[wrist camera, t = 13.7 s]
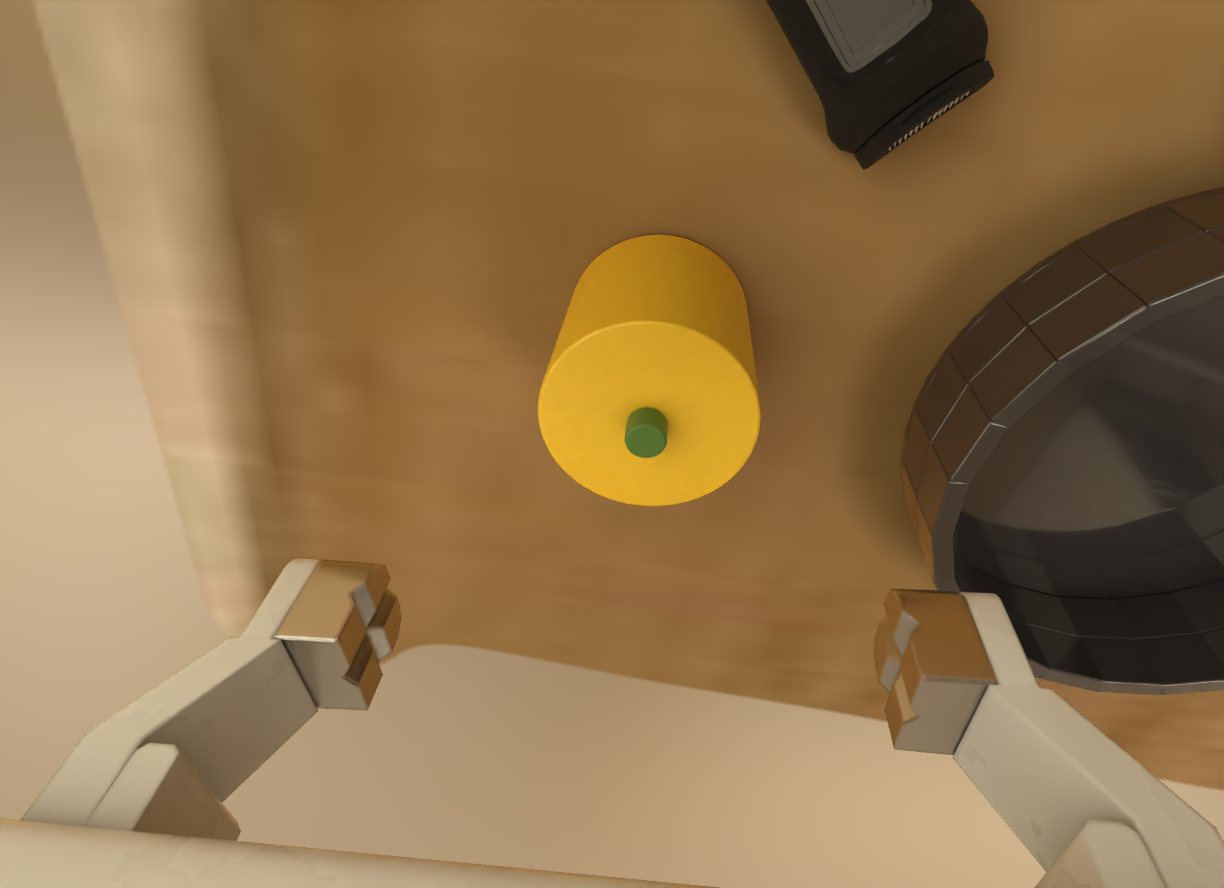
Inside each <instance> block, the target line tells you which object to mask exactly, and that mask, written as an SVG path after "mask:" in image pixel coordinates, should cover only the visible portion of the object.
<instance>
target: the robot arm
mask: <svg viewBox="0 0 1224 888" xmlns="http://www.w3.org/2000/svg"><path fill="white" fill-rule="evenodd" d="M390 579H391V578H390V576H389V573H388V571H387V569H386V566H385V565H381V564H372V563H359V562H346V561H333V560H316V559H301V558H295V559H294V560H292V561H291V562H289V563H288V564H287V565H286V566H285V568H284V569H283V571H282V572H281V574H280V576H279V577H278V579H277V580H276V582H275V583H274V585H273V587H272V588H271V590H270V591H269V593H268V594H267V596H266V598H265V599H264V601H263V602H262V604H261V605H260V607H259V608H258V610H257V612H256V613H255V615H254V616H253V618H252V619H251V621H250V623H249V624H248V626H247V627H246V629H245V630H244V632H243V634H242V635H241V637H230V638H229V639H227V640H226V641H224V642H223V643H222V644H220V645H218V646H217V647H215V648H214V649H212V650H211V651H209V652H208V653H207V654H205V655H203V656H202V657H200V658H199V659H197V660H196V661H194V662H193V663H191V664H190V665H188V666H187V667H185V668H184V669H182V670H181V671H179V672H178V673H176V674H175V675H173V676H172V677H170V678H169V679H167V680H166V681H164V682H163V683H161V684H160V685H158V686H157V687H155V688H154V689H152V690H151V691H149V692H148V693H146V694H145V695H143V696H142V697H140V698H139V699H137V700H136V701H134V702H133V703H131V704H130V705H128V706H126V707H125V708H124V709H122V710H120V711H119V712H117V713H116V714H114V715H113V716H111V717H110V718H108V719H107V720H105V721H104V722H102V723H101V724H100V725H98V726H96V727H95V728H93V729H92V730H90V731H89V732H87V733H86V734H84V736H83V737H82V738H81V740H80V741H79V742H78V744H77V745H76V746H75V748H74V749H73V750H72V752H71V753H70V755H69V756H68V757H67V758H66V760H65V761H64V762H63V764H62V765H61V766H60V768H59V769H58V770H57V772H56V773H55V774H54V776H53V777H52V779H51V780H50V781H49V782H48V784H47V785H46V786H45V788H44V789H43V790H42V792H41V793H40V794H39V796H38V797H37V799H36V800H35V801H34V802H33V804H32V805H31V807H30V808H29V809H28V810H27V812H26V813H25V814H24V816H23V817H22V818H21V820H14V819H3V818H0V888H718V887H708V886H696V885H686V884H676V883H666V882H656V881H646V880H635V879H625V878H615V877H604V876H594V875H583V874H573V873H563V872H552V871H543V870H532V869H522V868H512V867H500V866H491V865H481V864H470V863H460V862H449V861H439V860H429V859H417V858H408V857H398V856H386V855H377V854H367V853H356V852H346V851H336V850H325V849H314V848H304V847H294V846H284V845H273V844H263V843H253V842H241V841H237V839H238V836H239V834H240V832H241V831H240V828H239V824H238V822H237V821H236V820H235V819H234V817H233V816H232V815H231V814H230V812H229V811H228V810H227V809H226V807H225V806H224V805H223V804H222V802H223V801H224V800H225V799H226V798H227V797H228V796H229V795H230V794H231V793H232V792H234V791H235V790H236V789H237V788H238V787H239V786H240V785H241V784H242V783H243V782H244V781H245V780H246V779H247V778H248V777H249V776H250V775H251V774H252V773H253V772H255V771H256V770H257V769H258V768H259V767H260V766H261V765H262V764H263V763H264V762H265V761H266V760H267V759H268V758H269V757H270V756H271V755H272V754H274V753H275V752H276V751H277V750H278V749H279V748H280V747H281V746H282V745H283V744H284V743H285V742H286V741H287V740H288V739H289V738H290V737H291V736H292V735H294V734H295V733H296V732H297V731H298V729H300V728H301V727H302V726H303V725H304V724H305V723H306V722H307V721H308V720H309V719H310V718H311V717H312V716H313V715H314V714H316V713H317V712H318V709H317V708H326V709H349V710H368V708H369V706H370V703H371V701H372V699H373V696H374V693H375V692H376V689H377V687H378V684H379V682H380V680H381V677H382V675H383V674H382V672H381V668H380V666H379V663H378V662H380V661H381V660H382V659H383V658H385V657H386V656H387V655H389V654H390V653H391V652H392V651H393V648H394V646H395V643H396V641H397V638H398V635H399V629H400V622H401V612H400V605H399V602H398V599H397V596H395V595H394V594H393V593H392V592H390V591H389V590H388V589H387V586H388V583H389V581H390ZM884 606H885V610H886V614H887V618H886V619H884V620H883V621H881V622H880V623H878V627H877V631H876V635H875V647H874V657H875V666H876V672H877V676H878V681H879V683H880V684H881V685H882V686H883V687H884V688H885V690H886V691H887V692H888V693H889V694H890V695H889V698H888V701H887V704H886V707H885V712H886V716H887V720H888V724H889V729H890V732H891V737H892V741H893V746H894V749H897V750H907V751H917V752H927V753H937V754H947V755H954V756H953V759H954V760H955V761H956V763H957V764H958V765H959V766H960V768H961V769H962V770H963V771H964V772H965V774H966V775H967V776H968V777H969V778H970V780H971V781H972V782H973V783H974V784H975V786H976V787H977V788H978V789H979V791H980V792H981V793H982V794H983V795H984V797H985V798H986V799H987V800H988V801H989V803H990V804H991V805H992V806H993V808H994V809H995V810H996V811H997V813H998V814H999V815H1000V816H1001V817H1002V819H1003V820H1004V821H1005V822H1006V823H1007V825H1008V826H1009V827H1010V828H1011V830H1012V831H1013V832H1014V833H1015V834H1016V836H1017V837H1018V838H1019V839H1020V840H1021V842H1022V843H1023V844H1024V845H1025V846H1026V848H1027V849H1028V850H1029V851H1030V853H1031V854H1032V855H1033V856H1034V857H1035V859H1036V860H1037V861H1038V862H1039V864H1040V865H1041V866H1042V867H1043V868H1044V870H1045V871H1046V872H1047V873H1046V874H1045V875H1044V877H1043V878H1042V879H1041V880H1040V882H1039V883H1038V884H1037V885H1036V887H1035V888H1224V841H1223V840H1222V838H1221V836H1220V834H1219V832H1218V831H1217V829H1216V827H1215V826H1213V825H1212V824H1211V823H1210V822H1209V821H1207V820H1206V819H1205V818H1204V817H1202V816H1201V815H1200V814H1199V813H1198V812H1197V811H1196V810H1194V809H1193V808H1192V807H1191V806H1189V805H1188V804H1187V803H1186V802H1185V801H1184V800H1182V799H1181V798H1180V797H1179V796H1178V795H1176V794H1175V793H1174V792H1173V791H1172V790H1171V789H1169V788H1168V787H1167V786H1166V785H1165V784H1164V783H1162V782H1161V781H1160V780H1159V779H1158V778H1156V777H1155V776H1154V775H1153V774H1152V773H1150V772H1149V771H1148V770H1147V769H1146V768H1145V767H1143V766H1142V765H1141V764H1140V763H1139V762H1137V761H1136V760H1135V759H1134V758H1133V757H1131V756H1130V755H1129V754H1128V753H1127V752H1126V751H1124V750H1123V749H1122V748H1121V747H1120V746H1118V745H1117V744H1116V743H1115V742H1114V741H1112V740H1111V739H1110V738H1109V737H1108V736H1107V735H1105V734H1104V733H1103V732H1102V731H1101V730H1099V729H1098V728H1097V727H1096V726H1095V725H1094V724H1092V723H1091V722H1090V721H1089V720H1088V719H1086V718H1085V717H1084V716H1083V715H1082V714H1080V713H1079V712H1078V711H1077V710H1076V709H1075V708H1073V707H1072V706H1071V705H1070V704H1069V703H1067V702H1066V701H1065V700H1064V699H1063V698H1061V697H1060V696H1059V695H1058V694H1057V693H1056V692H1054V691H1053V690H1052V689H1051V688H1040V686H1039V684H1038V682H1037V680H1036V677H1035V675H1034V673H1033V671H1032V668H1031V666H1030V664H1029V662H1028V659H1027V657H1026V655H1025V653H1024V650H1023V648H1022V646H1021V643H1020V641H1019V639H1018V637H1017V634H1016V632H1015V630H1014V628H1013V625H1012V623H1011V621H1010V619H1009V616H1008V614H1007V612H1006V610H1005V607H1004V605H1003V603H1002V601H1001V599H1000V598H999V597H998V596H997V595H996V594H992V593H971V592H959V593H958V592H956V591H934V590H908V589H891V590H890V592H889V593H888V594H887V597H886V600H885V603H884Z"/></svg>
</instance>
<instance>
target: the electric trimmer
mask: <svg viewBox="0 0 1224 888" xmlns="http://www.w3.org/2000/svg"><path fill="white" fill-rule="evenodd" d="M766 1H767V3H768V4H769V6H770V8H771V10H772V11H773V13H774V15H775V17H776V18H777V20H778V22H779V24H780V26H781V28H782V29H783V31H784V33H785V35H786V37H787V39H788V40H789V42H790V44H791V46H792V48H793V49H794V51H795V53H796V55H797V57H798V59H799V60H800V62H801V64H802V66H803V68H804V70H805V71H806V73H807V75H808V77H809V79H810V81H811V82H812V84H813V86H814V88H815V90H816V91H817V93H818V95H819V97H820V100H821V102H822V105H823V107H824V111H825V118H826V124H827V131H828V135H829V137H830V139H831V141H832V142H833V143H834V144H835V145H836V146H837V147H838V148H839V149H840V150H842V151H847V152H851V153H857V152H858V153H857V154H856V155H855V158H856V159H857V161H858V162H859V164H860V165H861V167H862V168H863V170H864V169H866V168H869V167H870V166H871V165H873V164H874V163H876V162H877V161H878V160H880V159H881V158H882V157H884V156H885V155H886V154H888V153H889V152H890V151H892V150H893V149H894V148H896V147H897V146H898V145H900V144H901V143H903V142H904V141H905V140H907V139H908V138H910V137H911V136H913V135H914V134H915V133H917V132H918V131H920V130H921V129H923V128H924V127H926V126H927V125H928V124H930V123H931V122H933V121H934V120H936V119H937V118H939V117H940V116H942V115H943V114H944V113H946V112H947V111H949V110H950V109H952V108H953V107H955V106H956V105H957V104H959V103H960V102H962V101H963V100H965V99H966V98H968V97H969V96H970V95H972V94H973V93H975V92H976V91H978V90H979V89H981V88H982V87H983V86H985V85H986V84H987V83H988V82H989V81H990V80H991V79H992V78H994V73H993V69H992V67H991V65H990V63H989V61H988V60H985V61H983V60H984V59H985V52H986V47H987V42H988V29H987V25H986V22H985V19H984V16H983V15H982V14H981V12H980V11H979V10H978V9H977V8H976V7H975V5H974V4H973V3H972V2H971V1H970V0H766Z"/></svg>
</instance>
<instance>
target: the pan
mask: <svg viewBox="0 0 1224 888" xmlns="http://www.w3.org/2000/svg"><path fill="white" fill-rule="evenodd" d="M902 482H903V488H904V493H905V501H906V507H907V510H908V513H909V516H910V518H911V521H912V524H913V526H914V529H915V532H916V535H917V537H918V540H919V543H920V546H921V548H922V551H923V554H924V557H925V559H926V562H927V565H928V567H929V570H930V573H931V576H932V578H933V581H934V584H935V586H936V588H937V590H938V591H956V592H958V593H959V592H971V593H992V594H996V595H997V596H998V597H999V598H1000V599H1001V601H1002V603H1003V605H1004V607H1005V610H1006V612H1007V614H1008V616H1009V619H1010V621H1011V623H1012V625H1013V628H1014V630H1015V632H1016V634H1017V637H1018V639H1019V641H1020V643H1021V646H1022V648H1023V650H1024V653H1025V655H1026V657H1027V659H1028V662H1029V664H1030V666H1031V668H1032V671H1033V673H1034V675H1035V677H1038V678H1040V679H1044V680H1049V681H1053V682H1057V683H1062V684H1066V685H1070V686H1074V687H1079V688H1083V689H1087V690H1092V691H1094V690H1095V691H1098V692H1114V693H1131V694H1148V695H1160V694H1161V695H1168V694H1180V693H1193V692H1205V691H1218V690H1224V188H1221V189H1215V190H1210V191H1204V192H1201V193H1197V194H1194V195H1190V196H1187V197H1183V198H1180V199H1176V200H1173V201H1169V202H1166V203H1162V204H1159V205H1156V206H1153V207H1151V208H1148V209H1146V210H1143V211H1141V212H1138V213H1136V214H1133V215H1131V216H1128V217H1126V218H1123V219H1120V220H1118V221H1115V222H1113V223H1111V224H1109V225H1107V226H1105V227H1103V228H1101V229H1099V230H1097V231H1095V232H1093V233H1091V234H1089V235H1087V236H1085V237H1083V238H1081V239H1079V240H1077V241H1075V242H1073V243H1071V244H1070V245H1068V246H1067V247H1065V248H1063V249H1062V250H1060V251H1059V252H1057V253H1055V254H1054V255H1052V256H1051V257H1049V258H1048V259H1046V260H1044V261H1043V262H1041V263H1040V264H1038V265H1036V266H1035V267H1033V268H1032V269H1031V270H1029V271H1028V272H1027V273H1025V274H1024V275H1023V276H1022V277H1020V278H1019V279H1018V280H1016V281H1015V282H1014V283H1012V284H1011V285H1010V286H1009V287H1007V288H1006V289H1005V290H1003V291H1002V292H1001V293H1000V294H999V295H997V296H996V297H995V298H994V299H993V300H992V301H991V302H990V303H989V304H988V305H987V306H986V307H985V308H984V309H983V310H982V311H980V312H979V313H978V314H977V315H976V316H975V317H974V318H973V319H972V320H971V321H970V322H969V323H968V325H967V326H966V327H965V328H964V329H963V330H962V331H961V333H960V334H959V335H958V336H957V337H956V338H955V340H954V341H953V342H952V343H951V344H950V345H949V347H948V348H947V349H946V351H945V352H944V354H943V355H942V357H941V358H940V360H939V361H938V363H937V364H936V366H935V367H934V368H933V370H932V371H931V373H930V374H929V376H928V378H927V380H926V382H925V384H924V386H923V388H922V390H921V392H920V394H919V396H918V398H917V400H916V402H915V404H914V407H913V410H912V413H911V416H910V419H909V422H908V425H907V428H906V432H905V438H904V444H903V450H902Z"/></svg>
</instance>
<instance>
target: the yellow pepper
mask: <svg viewBox="0 0 1224 888" xmlns="http://www.w3.org/2000/svg"><path fill="white" fill-rule="evenodd" d="M538 419H539V424H540V429H541V433H542V435H543V438H544V441H545V443H546V445H547V447H548V449H549V451H550V453H551V455H552V456H553V457H554V459H555V460H556V462H557V463H558V464H559V465H560V466H561V468H562V469H563V470H564V471H565V472H566V473H567V474H568V475H569V476H571V477H572V478H573V479H574V480H575V481H577V482H578V483H580V484H581V485H583V486H584V487H585V488H587V489H589V490H591V491H593V492H595V493H597V494H599V495H601V496H604V497H606V498H609V499H611V500H615V501H618V502H622V503H627V504H632V505H641V506H666V505H674V504H679V503H684V502H688V501H691V500H694V499H697V498H700V497H702V496H704V495H706V494H709V493H711V492H713V491H714V490H716V489H717V488H719V487H721V486H722V485H724V484H725V483H726V482H727V481H729V480H730V479H731V478H732V477H733V476H734V475H735V474H736V473H737V472H738V471H739V470H740V469H741V468H742V466H743V465H744V464H745V462H746V461H747V459H748V458H749V456H750V454H751V452H752V451H753V449H754V447H755V444H756V441H757V438H758V435H759V430H760V424H761V409H760V401H759V394H758V386H757V379H756V371H755V364H754V356H753V349H752V341H751V334H750V326H749V319H748V311H747V304H746V299H745V296H744V292H743V289H742V287H741V285H740V283H739V281H738V279H737V277H736V276H735V274H734V273H733V271H732V270H731V269H730V267H729V266H728V265H727V264H726V263H725V262H724V261H723V260H722V259H721V258H720V257H719V256H718V255H716V254H715V253H714V252H712V251H711V250H709V249H708V248H706V247H704V246H702V245H700V244H698V243H696V242H694V241H691V240H688V239H685V238H681V237H676V236H671V235H646V236H641V237H636V238H632V239H629V240H626V241H623V242H620V243H618V244H616V245H614V246H612V247H610V248H609V249H608V250H606V251H605V252H603V253H602V254H600V255H599V256H598V257H597V258H596V259H595V260H594V261H593V262H592V263H591V264H590V265H589V266H588V267H587V269H586V270H585V271H584V273H583V274H582V276H581V278H580V279H579V281H578V283H577V286H576V288H575V290H574V293H573V296H572V299H571V302H570V305H569V308H568V311H567V313H566V316H565V319H564V322H563V325H562V328H561V331H560V334H559V336H558V339H557V342H556V345H555V348H554V351H553V354H552V357H551V360H550V362H549V365H548V368H547V371H546V374H545V377H544V380H543V383H542V386H541V390H540V393H539V401H538Z"/></svg>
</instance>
